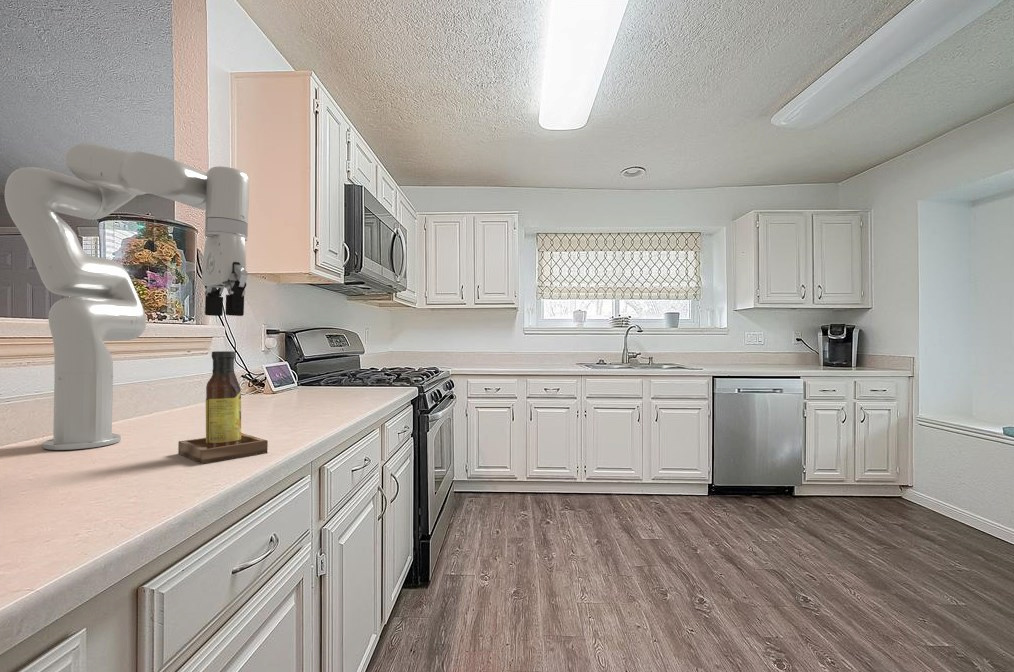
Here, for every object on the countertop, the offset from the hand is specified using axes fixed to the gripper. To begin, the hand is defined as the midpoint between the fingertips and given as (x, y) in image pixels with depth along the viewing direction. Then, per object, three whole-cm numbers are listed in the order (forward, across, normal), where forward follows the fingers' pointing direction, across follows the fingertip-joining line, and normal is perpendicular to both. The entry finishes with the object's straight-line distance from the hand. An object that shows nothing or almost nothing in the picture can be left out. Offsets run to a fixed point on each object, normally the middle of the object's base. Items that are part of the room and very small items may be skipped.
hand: (223, 315), depth 100 cm
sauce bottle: (+27, +1, 0) cm, 27 cm away
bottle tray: (+28, +1, 0) cm, 28 cm away
